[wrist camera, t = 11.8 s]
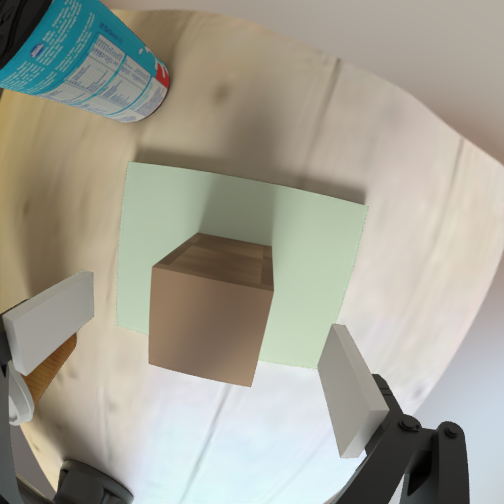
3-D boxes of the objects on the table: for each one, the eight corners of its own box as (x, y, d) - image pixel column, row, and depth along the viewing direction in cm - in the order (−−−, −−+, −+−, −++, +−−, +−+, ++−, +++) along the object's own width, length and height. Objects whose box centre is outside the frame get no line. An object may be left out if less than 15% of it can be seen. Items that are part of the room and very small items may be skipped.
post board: (122, 320, 24) (83, 361, 17) (134, 162, 20) (83, 157, 14) (317, 362, 24) (329, 417, 17) (364, 205, 20) (405, 216, 13)
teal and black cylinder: (179, 58, 18) (81, -56, 4) (164, 125, 20) (19, 63, 5) (117, 61, 18) (-3, -10, 4) (102, 124, 20) (-46, 94, 5)
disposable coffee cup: (33, 270, 23) (-49, 312, 12) (97, 323, 24) (22, 395, 12) (24, 331, 26) (-37, 378, 14) (80, 378, 26) (27, 443, 15)
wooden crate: (188, 300, 22) (148, 363, 13) (197, 232, 20) (152, 266, 12) (257, 314, 22) (251, 387, 13) (271, 246, 20) (274, 291, 12)
